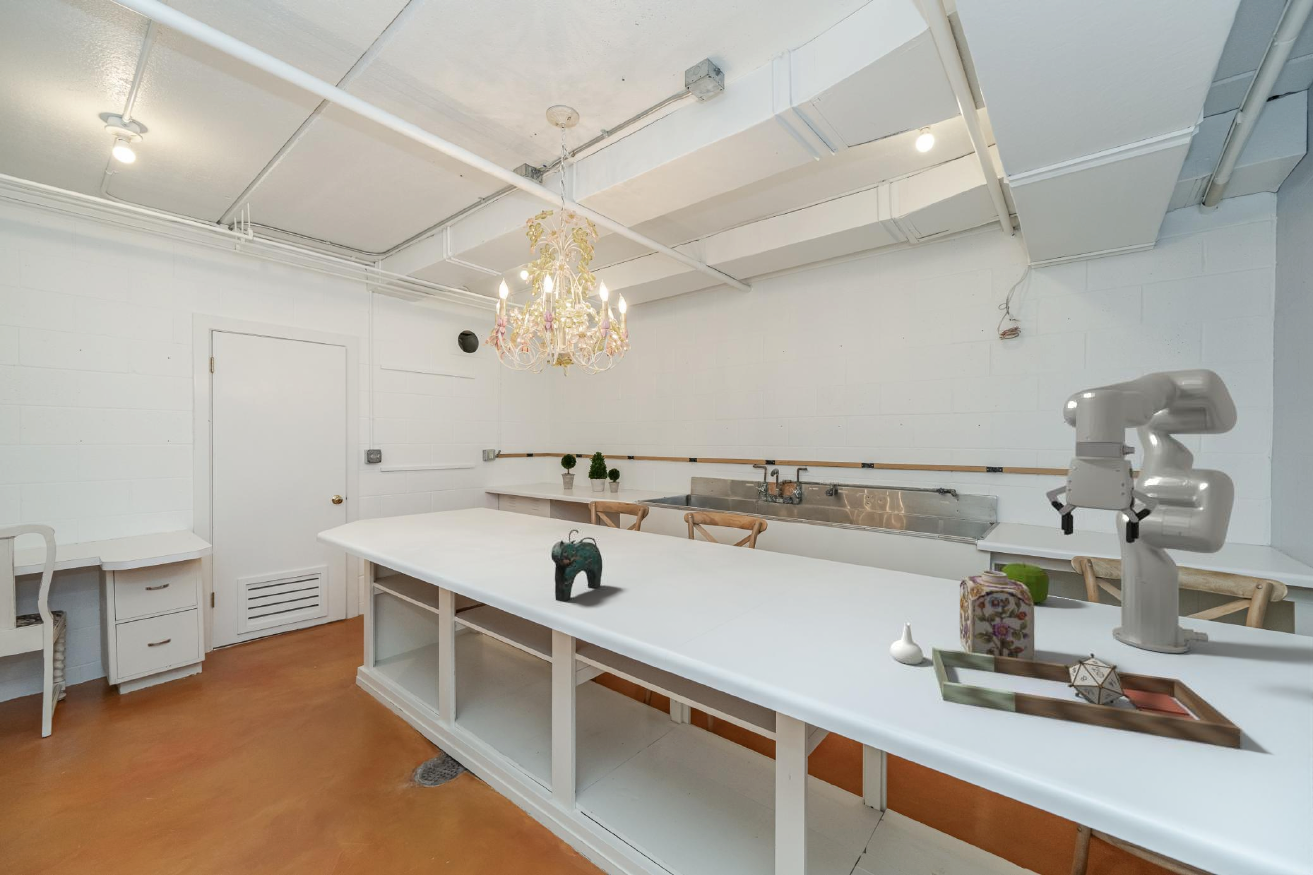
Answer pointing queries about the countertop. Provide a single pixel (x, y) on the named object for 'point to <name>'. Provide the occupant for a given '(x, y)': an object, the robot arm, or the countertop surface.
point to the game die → (1096, 681)
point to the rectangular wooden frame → (1144, 691)
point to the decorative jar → (996, 616)
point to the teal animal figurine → (575, 565)
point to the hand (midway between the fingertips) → (1098, 538)
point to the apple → (1029, 579)
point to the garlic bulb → (906, 648)
